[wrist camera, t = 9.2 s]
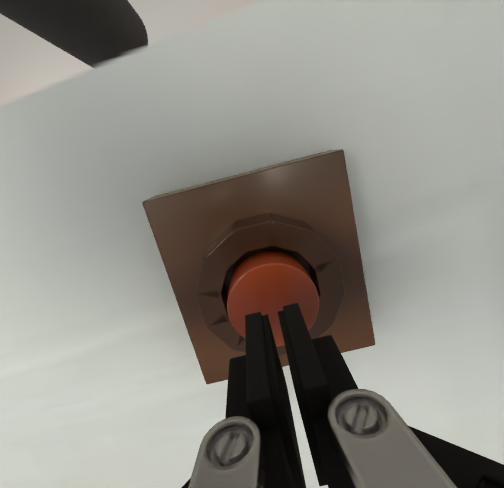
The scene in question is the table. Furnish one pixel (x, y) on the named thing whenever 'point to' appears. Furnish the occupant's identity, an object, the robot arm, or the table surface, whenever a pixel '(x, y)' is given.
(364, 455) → the robot arm
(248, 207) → the brown square block
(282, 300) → the red short cylinder
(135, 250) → the table surface
